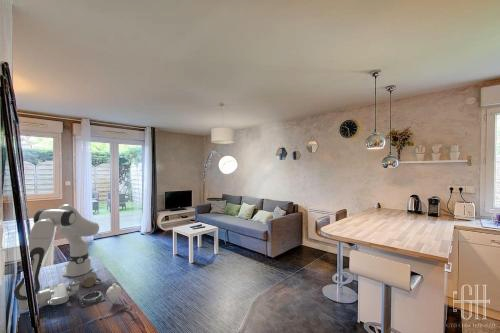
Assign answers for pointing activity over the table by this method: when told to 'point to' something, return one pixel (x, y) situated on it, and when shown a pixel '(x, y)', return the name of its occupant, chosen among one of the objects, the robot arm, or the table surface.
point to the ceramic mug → (91, 279)
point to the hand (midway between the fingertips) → (75, 288)
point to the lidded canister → (73, 286)
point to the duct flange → (91, 298)
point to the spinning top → (113, 292)
